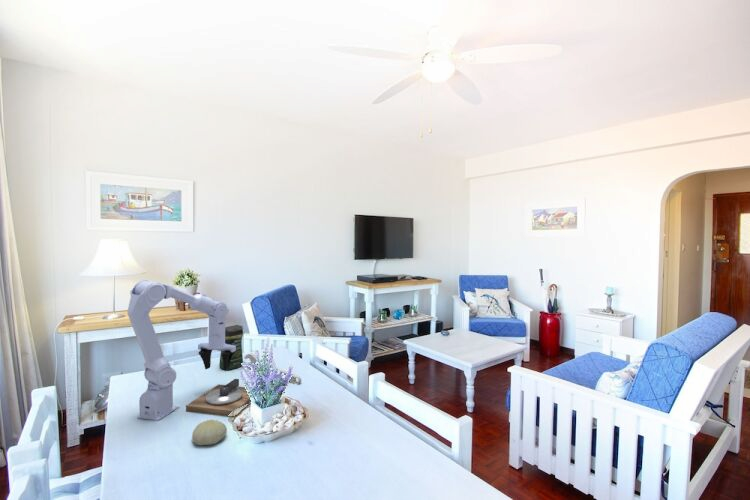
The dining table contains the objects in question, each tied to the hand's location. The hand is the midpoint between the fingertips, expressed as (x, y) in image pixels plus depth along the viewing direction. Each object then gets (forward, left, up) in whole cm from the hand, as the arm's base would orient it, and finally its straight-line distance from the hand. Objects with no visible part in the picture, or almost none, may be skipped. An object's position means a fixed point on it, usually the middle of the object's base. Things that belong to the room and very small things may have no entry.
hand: (216, 369), depth 137 cm
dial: (-7, -9, -6) cm, 13 cm away
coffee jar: (+25, +9, -9) cm, 28 cm away
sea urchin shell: (-29, -18, -9) cm, 35 cm away
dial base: (-8, -9, -9) cm, 15 cm away
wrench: (+18, -14, -9) cm, 24 cm away
